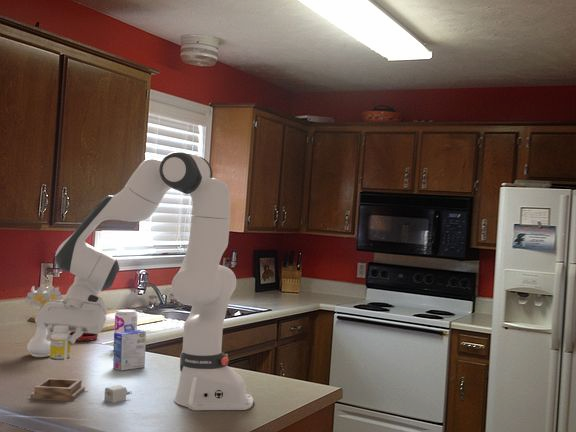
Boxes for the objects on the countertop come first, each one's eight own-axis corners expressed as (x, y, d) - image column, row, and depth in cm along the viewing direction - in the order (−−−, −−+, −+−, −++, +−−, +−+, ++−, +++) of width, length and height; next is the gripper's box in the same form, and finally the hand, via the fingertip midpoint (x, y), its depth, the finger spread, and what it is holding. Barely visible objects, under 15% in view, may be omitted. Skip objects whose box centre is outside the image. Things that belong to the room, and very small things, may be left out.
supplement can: (119, 353, 255) (121, 312, 255) (109, 349, 261) (111, 309, 261) (139, 351, 260) (141, 311, 260) (129, 347, 267) (130, 308, 266)
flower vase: (30, 362, 233) (33, 289, 233) (16, 352, 248) (20, 283, 248) (68, 359, 240) (72, 288, 240) (53, 349, 255) (56, 282, 255)
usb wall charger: (104, 401, 192) (105, 387, 192) (124, 397, 198) (125, 383, 198) (112, 404, 190) (113, 390, 190) (133, 400, 195) (134, 386, 195)
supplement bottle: (62, 357, 199) (64, 323, 199) (73, 361, 196) (75, 326, 195) (45, 360, 195) (47, 325, 195) (56, 363, 191) (58, 328, 191)
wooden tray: (84, 391, 200) (85, 380, 200) (73, 400, 190) (74, 388, 190) (43, 388, 200) (44, 377, 200) (30, 398, 190) (30, 386, 190)
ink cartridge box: (136, 364, 239) (138, 322, 239) (145, 367, 235) (147, 325, 235) (111, 368, 231) (113, 325, 231) (120, 371, 228) (122, 327, 228)
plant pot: (95, 342, 272) (96, 312, 272) (62, 341, 272) (63, 310, 272) (104, 336, 285) (106, 308, 285) (73, 335, 285) (74, 306, 285)
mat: (88, 392, 201) (88, 390, 201) (76, 402, 190) (76, 401, 190) (40, 389, 201) (40, 388, 201) (25, 399, 190) (26, 398, 190)
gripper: (43, 293, 204) (22, 331, 195) (106, 298, 200) (88, 338, 190) (51, 306, 208) (30, 344, 199) (113, 312, 204) (95, 351, 195)
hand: (59, 341), depth 195 cm, fingers closed on supplement bottle, 5 cm apart
